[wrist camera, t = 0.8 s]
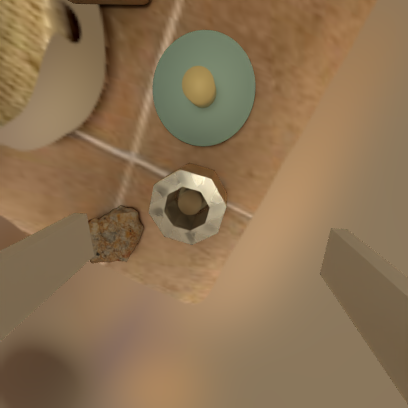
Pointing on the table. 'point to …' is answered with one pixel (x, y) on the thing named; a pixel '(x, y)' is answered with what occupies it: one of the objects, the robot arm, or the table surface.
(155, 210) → the collar ring
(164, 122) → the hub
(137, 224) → the rock
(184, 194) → the stand
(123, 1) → the wooden block
